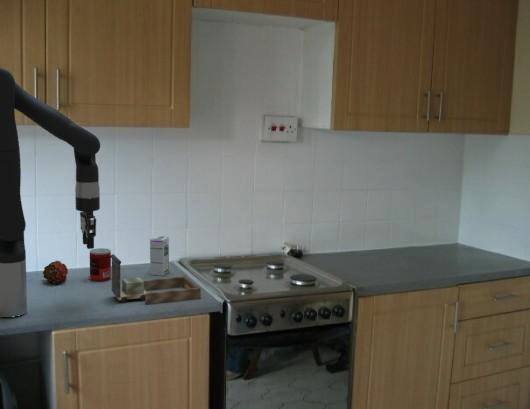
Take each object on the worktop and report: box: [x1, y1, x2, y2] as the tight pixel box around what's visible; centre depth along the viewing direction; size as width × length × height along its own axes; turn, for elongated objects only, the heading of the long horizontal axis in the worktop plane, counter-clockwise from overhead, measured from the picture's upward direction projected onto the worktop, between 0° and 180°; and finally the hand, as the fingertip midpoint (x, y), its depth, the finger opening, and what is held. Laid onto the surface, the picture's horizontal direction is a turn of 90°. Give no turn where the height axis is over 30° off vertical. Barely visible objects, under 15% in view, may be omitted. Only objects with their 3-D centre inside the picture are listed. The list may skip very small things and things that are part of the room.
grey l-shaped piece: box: [111, 253, 148, 304], centre depth 217 cm, size 11×9×15 cm
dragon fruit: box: [42, 260, 69, 284], centre depth 236 cm, size 8×8×12 cm
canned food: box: [89, 247, 112, 283], centre depth 241 cm, size 8×8×11 cm
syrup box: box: [149, 235, 170, 277], centre depth 251 cm, size 6×6×14 cm
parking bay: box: [142, 276, 202, 305], centre depth 223 cm, size 19×16×4 cm
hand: (88, 246), depth 209 cm, fingers open, 6 cm apart
